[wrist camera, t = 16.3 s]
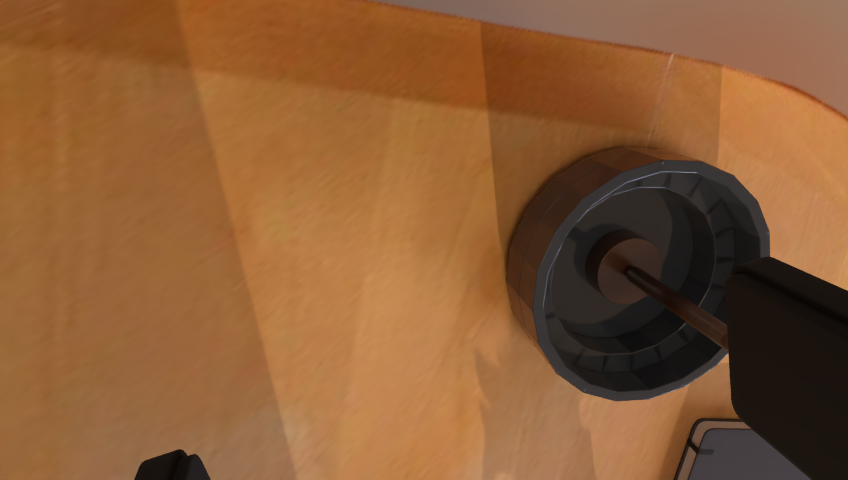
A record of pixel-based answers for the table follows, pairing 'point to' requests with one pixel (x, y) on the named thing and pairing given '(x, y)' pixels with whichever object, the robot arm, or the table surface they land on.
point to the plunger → (643, 280)
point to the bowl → (681, 271)
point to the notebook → (732, 454)
